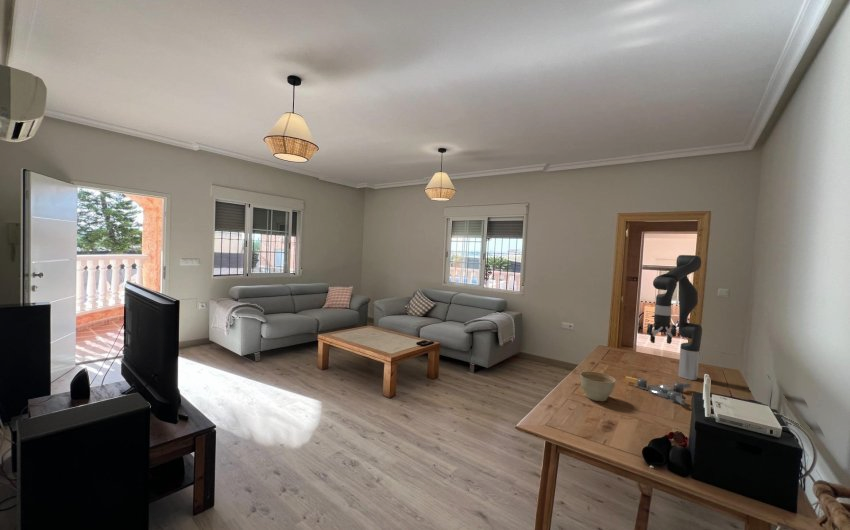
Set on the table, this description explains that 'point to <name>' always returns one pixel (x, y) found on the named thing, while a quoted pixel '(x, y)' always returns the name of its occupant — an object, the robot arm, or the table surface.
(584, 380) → the planter bowl
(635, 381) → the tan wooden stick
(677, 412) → the table surface
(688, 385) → the grey bar with ball
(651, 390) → the base
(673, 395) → the knob
